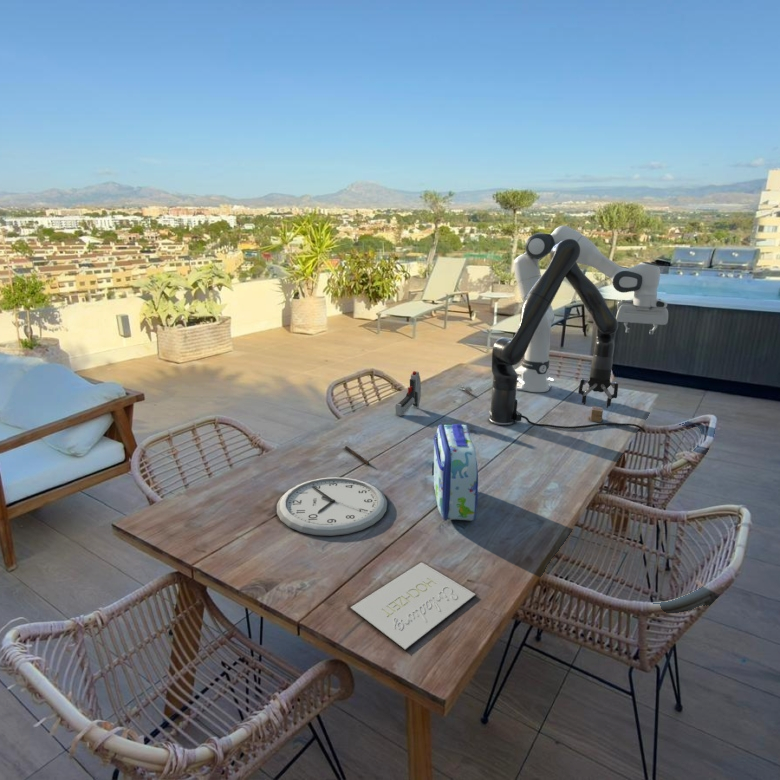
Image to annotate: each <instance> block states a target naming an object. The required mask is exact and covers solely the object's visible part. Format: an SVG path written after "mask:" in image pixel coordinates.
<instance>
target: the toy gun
mask: <svg viewBox="0 0 780 780" xmlns="http://www.w3.org/2000/svg"><path fill="white" fill-rule="evenodd" d="M421 394H422V381H421V376H420V372H419V371H416V370H413V371H412V372H411V374H410V379H409V386H408V387H407V393H406V395H405V396H404V397H403V398H402V399H401V400H400V401H399V402H398V403H395V415H396V416H399V417H402V416H404V415H405V414H406V413H407V412H408V411H409V409H410V408H411V407H412V406H413V407H414V408H417V409H419V407H420V402H421V396H422V395H421Z"/></svg>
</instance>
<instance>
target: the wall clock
mask: <svg viewBox="0 0 780 780" xmlns="http://www.w3.org/2000/svg"><path fill="white" fill-rule="evenodd" d="M387 509H388V500H387V498H386V496H385V494H384V493H383V492H382V491H381V490H380V489H379V488H377V487H376V486H374V485H372V484H371V483H369V482H365V481H362V480H359V479H355V478H349V477H338V476H337V477H335V476H333V477H332V476H331V477H322V478H317V479H312V480H307V481H305V482H302V483H299V484H297V485H295V486H293V487H292V488H290V489H288V490H287V491H286V492H285V493H284V494H283V495H281V496H280V498H279V499H278V502H277V503H276V515H277V517H278V518H279V520H280V521H281V522H282V523H283V524H285V525H286V526H287V527H288V528H290V529H293V530H295V531H297V532H299V533H303V534H308V535H312V536H327V537H328V536H329V537H331V536H332V537H333V536H342V535H350V534H352V533H356V532H361V531H363V530H366V529H368V528H369V527H372V526H373V525H375V524H376V523H378V522H379V521H380V520H381V519H382V518H383V517H384V516H385V514H386V512H387Z"/></svg>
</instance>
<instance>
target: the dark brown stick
mask: <svg viewBox="0 0 780 780" xmlns="http://www.w3.org/2000/svg"><path fill="white" fill-rule="evenodd" d="M344 449H345V450H346V451H348V452H349V453H350V454H352V455H353V456H355V457H356V458H358V459H359V460H361V461H362V462H363V463H364V464H366V465H370V461H368V460H367V459H366V458H364V457H363V456H361V455H360V454H358V453H357V452H356V451H354V450H353V449H352V448H350V447H348V446H347V445H345V446H344Z"/></svg>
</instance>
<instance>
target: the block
mask: <svg viewBox="0 0 780 780" xmlns="http://www.w3.org/2000/svg"><path fill="white" fill-rule="evenodd" d="M603 413H604V409H603V407H600V406H591V411H590V422H594V423H602V420H603V415H604V414H603Z"/></svg>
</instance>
